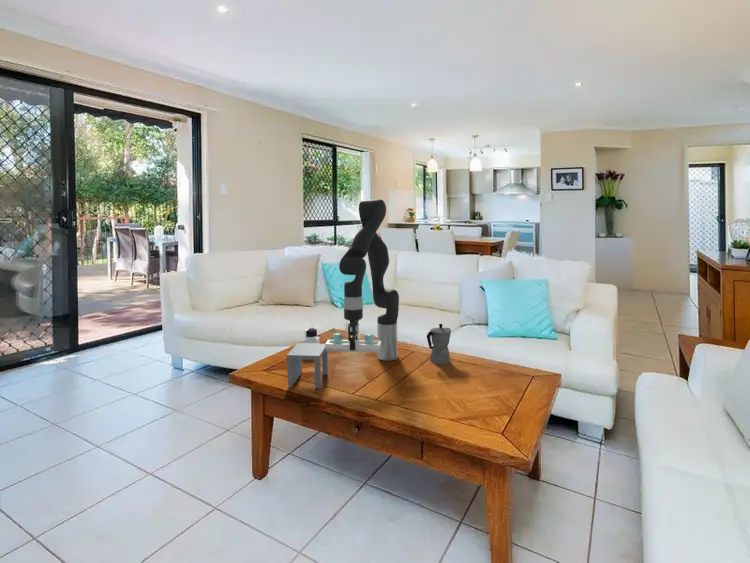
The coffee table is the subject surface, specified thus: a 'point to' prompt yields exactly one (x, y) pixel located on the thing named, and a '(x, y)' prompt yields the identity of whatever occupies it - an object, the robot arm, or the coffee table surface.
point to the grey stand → (307, 352)
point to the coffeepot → (439, 345)
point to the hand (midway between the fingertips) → (353, 347)
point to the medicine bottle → (311, 336)
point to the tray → (360, 345)
